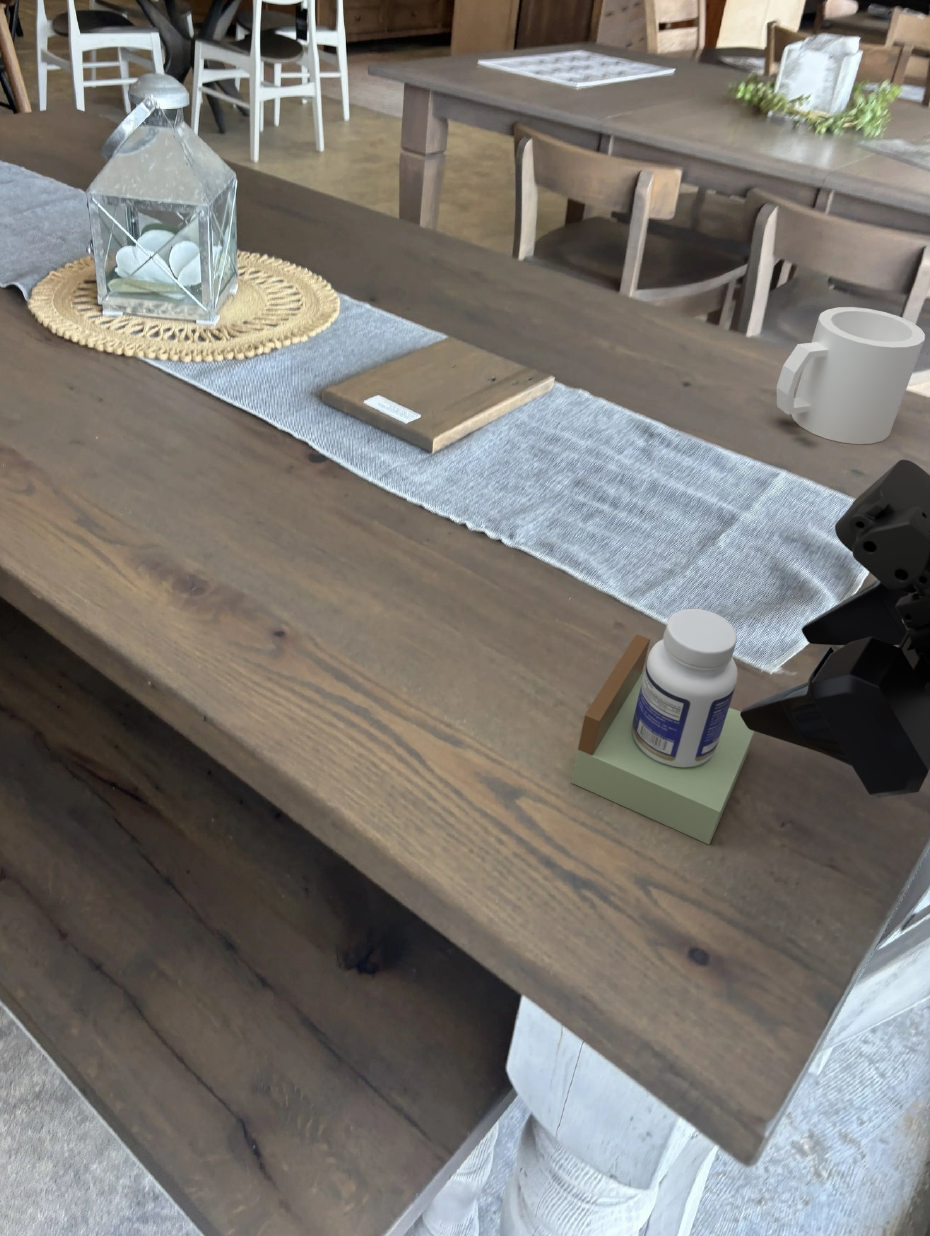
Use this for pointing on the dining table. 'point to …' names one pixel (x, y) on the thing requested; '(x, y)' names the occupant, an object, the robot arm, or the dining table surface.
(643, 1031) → the dining table surface
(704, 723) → the pill bottle
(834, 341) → the mug
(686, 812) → the low shelf
